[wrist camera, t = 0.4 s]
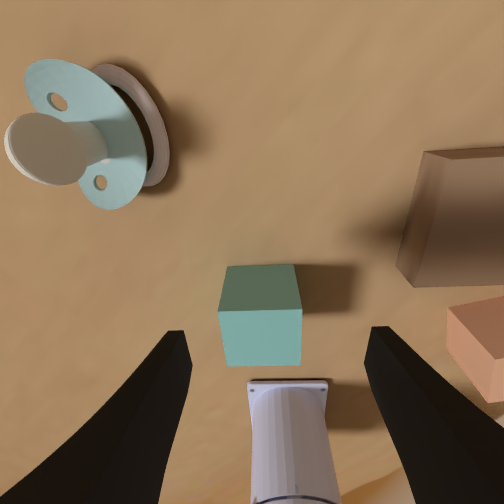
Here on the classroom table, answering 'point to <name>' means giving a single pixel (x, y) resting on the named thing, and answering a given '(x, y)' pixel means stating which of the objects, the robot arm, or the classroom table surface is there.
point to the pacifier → (87, 132)
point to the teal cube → (261, 316)
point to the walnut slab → (456, 220)
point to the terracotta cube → (479, 344)
